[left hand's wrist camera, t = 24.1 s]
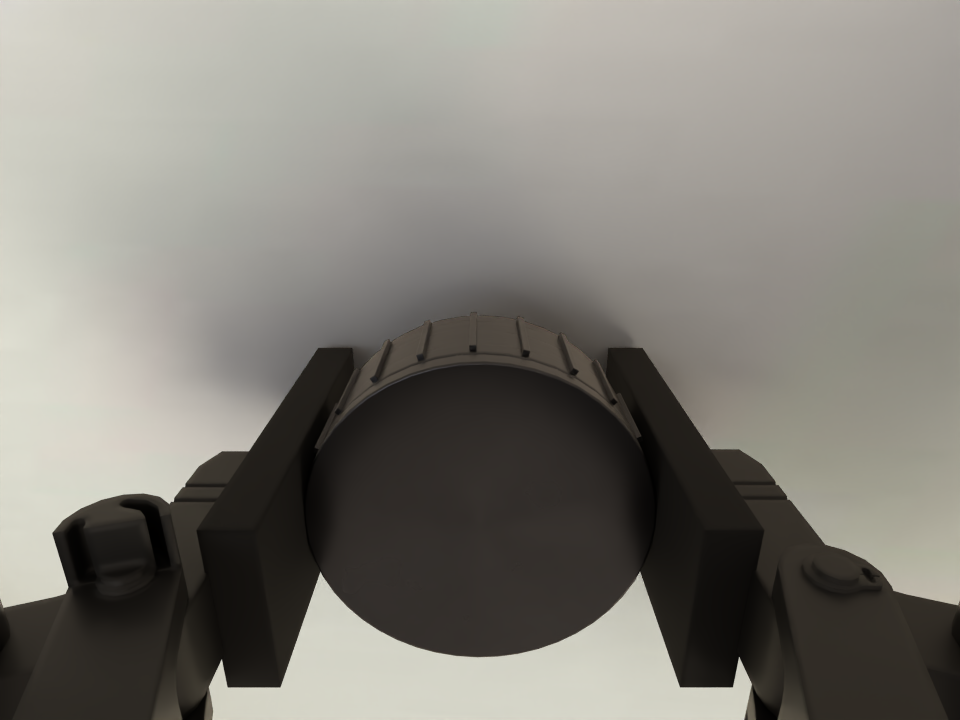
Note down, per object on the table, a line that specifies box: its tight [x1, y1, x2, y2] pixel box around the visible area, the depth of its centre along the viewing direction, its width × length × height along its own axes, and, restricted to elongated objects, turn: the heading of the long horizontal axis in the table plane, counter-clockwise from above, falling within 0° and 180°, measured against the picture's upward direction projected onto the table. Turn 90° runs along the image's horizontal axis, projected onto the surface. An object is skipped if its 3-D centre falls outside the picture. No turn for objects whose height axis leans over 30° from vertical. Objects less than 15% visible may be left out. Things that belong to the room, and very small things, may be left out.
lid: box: [304, 312, 657, 657], centre depth 11 cm, size 6×6×2 cm
